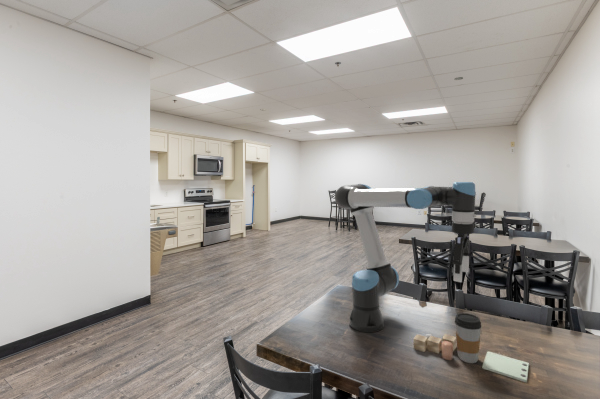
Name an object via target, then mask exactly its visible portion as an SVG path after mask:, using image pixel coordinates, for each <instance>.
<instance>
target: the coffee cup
mask: <svg viewBox="0 0 600 399" xmlns="http://www.w3.org/2000/svg"><path fill="white" fill-rule="evenodd" d="M454 323H455V337H456V349H457V350H456V351H457V356H458V358H459V359H460V360H461V362H465V363H466V364H467V363H468V364H475V363H477V362H478V361H479V353H480V345H481V343H480V342H481V328H482V322H481V319H480V317H479V316H477V315H476V314H472V313H466V312H460V313H457V314H456V316H455V318H454Z"/></svg>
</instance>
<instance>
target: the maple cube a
mask: <svg viewBox="0 0 600 399" xmlns="http://www.w3.org/2000/svg"><path fill="white" fill-rule="evenodd" d="M427 340H428V337H425V335H421V334H416V335H415V336H414V337H413V349H414V350H416V351H420V352H423V353H425V352H426V351H427V350H428V345H427Z"/></svg>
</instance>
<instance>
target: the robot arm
mask: <svg viewBox="0 0 600 399" xmlns="http://www.w3.org/2000/svg"><path fill="white" fill-rule="evenodd" d="M334 196H335V197H334V202H335V203H336V205H337V206H338V207H340V208H341V209H345V210H349V212H350V215H353V216H354V217H355V218H354V219H355V222H356V225H357V229H358V232H359V236H360V240H361V243H362V247H363V250H364V254H365V256H366V261H367V265H366V269H364V270H362V269H361V270H358V271H356V272H354V273H353V275H352V278H351V279H352V280H351V281H352V282H351V288H352V289H351V290H352V309H351V312H350V316H349V318H348V319H349V320H348V321H349V326H350V327H351V328H352V329H353V330H356V331H357V332H362V333H376V332H379V331H381V330H382V329H384V328H385V320H384V316H383V314H382V312H381V309H380V297H383V296H384V295H386V294H388V293H391V292H393V291H394V290H395V289H396V288H397V287H398V286H399V283H400V277H399V276H400V275H399V273H398V271H397V269H396V268H394V266H392V265H391V262H390V261H388V260H387V259H386V256H385V252H384V248H383V245H382V243H381V239H380V235H379V231H378V228H377V225H376V222H375V218H374V215H373V211H374V208H375V207H376V208H379V207H380V208H411V209H415V210H424V209H427V208H431V207H436V206H443V207H445V206H446V207H452V211H451V221H452V223H451V232H452V233H454V234H457V237H455V240H454V250H453V258H452V261H451V265H453V281H454V282H457V283H463V273H469V270H470V269H469V268H470V266H469V265H470V257H472V253H471V244H470V243H471V242H470V235H471V234H474V233H475V224H474V222H475V218H476V217H477V214H475V213H476V212H475V210H476V196H477V194H476V183H474V182H471V181H454V182H453V184H452V186H433V185H430V186H424V187H417V188H416V187H415V188H411V187H410V188H372V187H370V185H367V184H364V183H363V184H362V183H358V184H345V185H342V186H340V187H339V188H338V189H336V192H335V194H334Z"/></svg>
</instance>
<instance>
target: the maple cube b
mask: <svg viewBox="0 0 600 399" xmlns="http://www.w3.org/2000/svg"><path fill="white" fill-rule="evenodd" d="M427 345H428V348H427V351H430V352H431V353H436V354H440V353H441V352H442V338H441V337H436V336H430V337H429V339H428V340H427Z"/></svg>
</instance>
